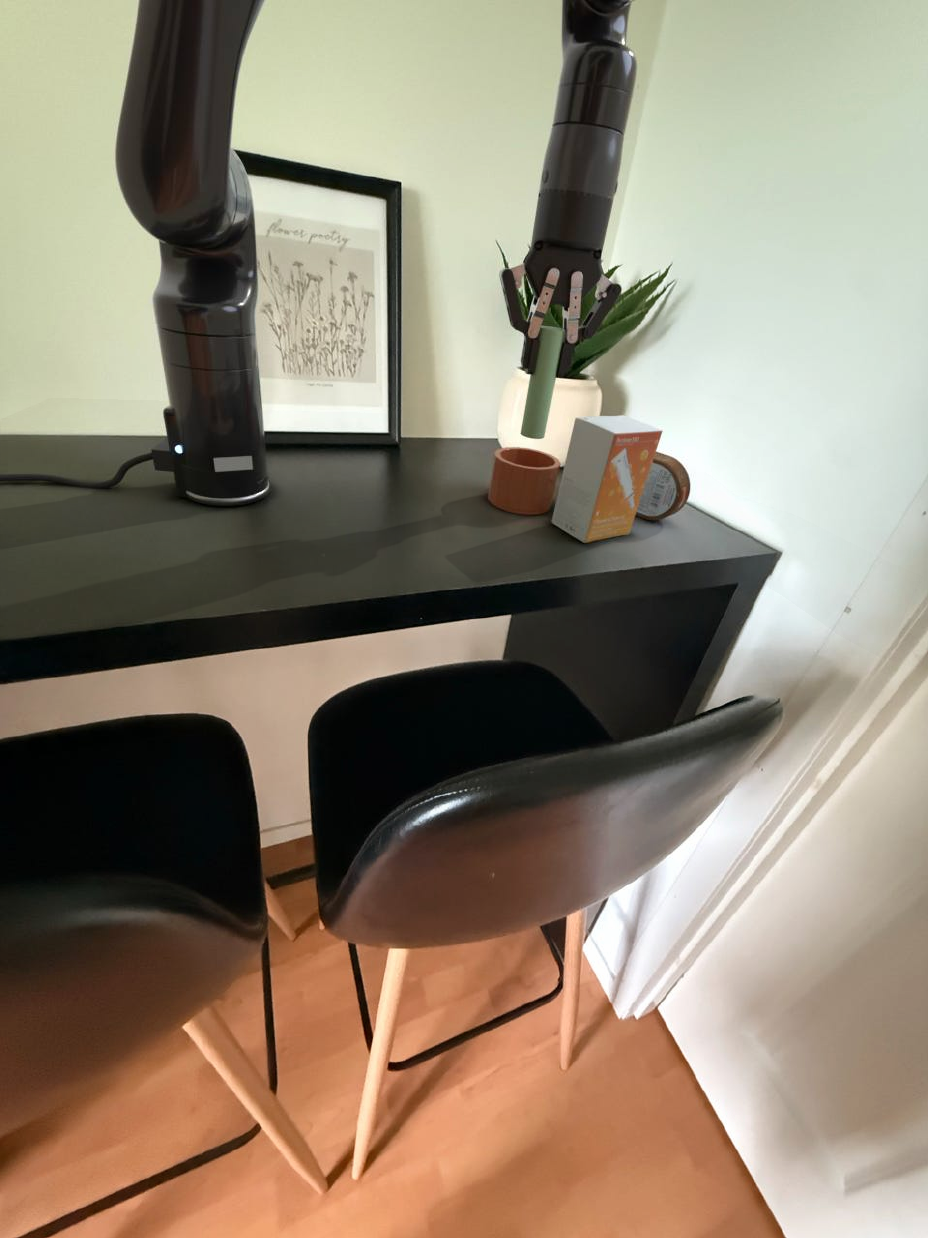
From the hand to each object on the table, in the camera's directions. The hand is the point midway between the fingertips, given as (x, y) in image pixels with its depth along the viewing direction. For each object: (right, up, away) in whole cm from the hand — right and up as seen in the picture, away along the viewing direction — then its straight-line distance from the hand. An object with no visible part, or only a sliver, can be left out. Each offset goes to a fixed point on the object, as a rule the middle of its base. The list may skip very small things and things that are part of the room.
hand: (543, 374), depth 65 cm
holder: (-2, -13, +9) cm, 16 cm away
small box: (+6, -18, +4) cm, 19 cm away
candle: (-1, -6, +4) cm, 7 cm away
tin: (+13, -14, +12) cm, 22 cm away
